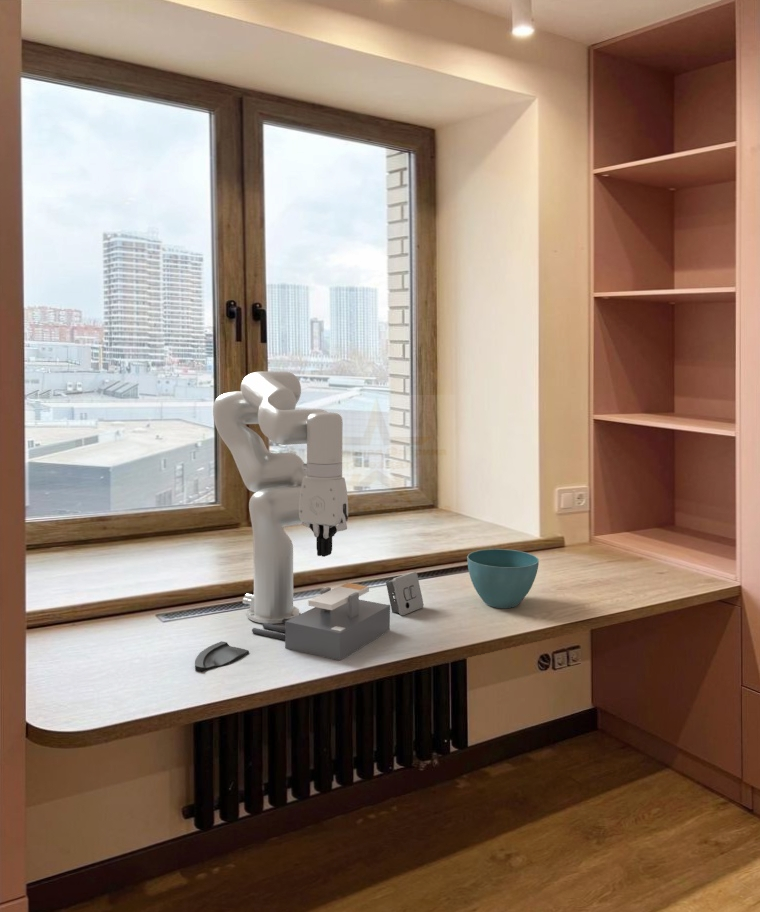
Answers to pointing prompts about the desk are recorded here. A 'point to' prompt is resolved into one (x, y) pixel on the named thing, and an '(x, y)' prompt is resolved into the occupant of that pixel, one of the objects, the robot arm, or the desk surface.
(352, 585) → the breaker rocker
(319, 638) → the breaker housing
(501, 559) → the plant pot
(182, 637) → the desk surface
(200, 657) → the fan shaped piece
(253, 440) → the robot arm
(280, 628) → the three grey prongs
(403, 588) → the electrical switch
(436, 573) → the desk surface
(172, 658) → the desk surface
